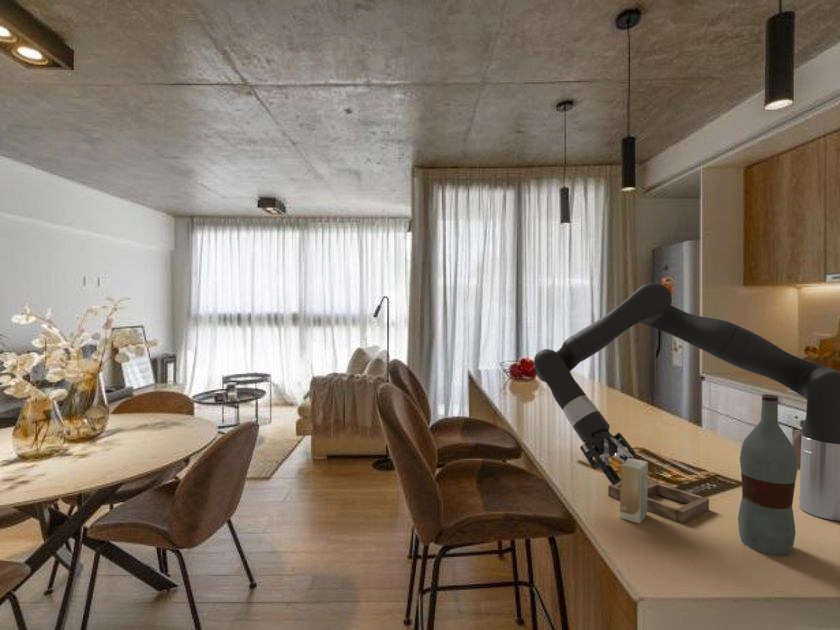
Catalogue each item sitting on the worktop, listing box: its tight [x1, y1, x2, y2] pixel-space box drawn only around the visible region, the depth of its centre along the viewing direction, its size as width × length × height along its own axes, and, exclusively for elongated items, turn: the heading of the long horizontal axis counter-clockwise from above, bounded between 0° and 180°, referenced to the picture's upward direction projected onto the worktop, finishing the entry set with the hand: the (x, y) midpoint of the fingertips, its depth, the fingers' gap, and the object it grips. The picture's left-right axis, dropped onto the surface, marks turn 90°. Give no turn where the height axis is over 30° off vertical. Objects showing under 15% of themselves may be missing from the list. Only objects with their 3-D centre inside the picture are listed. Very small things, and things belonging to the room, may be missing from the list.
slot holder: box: [607, 479, 710, 524], centre depth 115 cm, size 18×12×2 cm
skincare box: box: [619, 458, 649, 524], centre depth 107 cm, size 6×4×12 cm
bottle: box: [737, 393, 799, 556], centre depth 95 cm, size 9×9×30 cm
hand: (628, 479), depth 109 cm, fingers open, 8 cm apart
